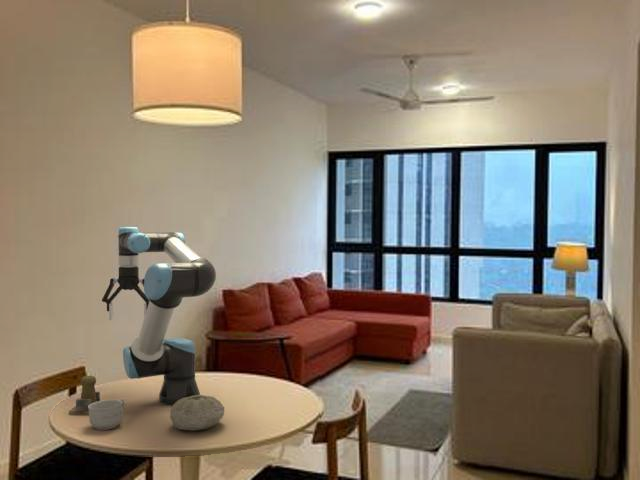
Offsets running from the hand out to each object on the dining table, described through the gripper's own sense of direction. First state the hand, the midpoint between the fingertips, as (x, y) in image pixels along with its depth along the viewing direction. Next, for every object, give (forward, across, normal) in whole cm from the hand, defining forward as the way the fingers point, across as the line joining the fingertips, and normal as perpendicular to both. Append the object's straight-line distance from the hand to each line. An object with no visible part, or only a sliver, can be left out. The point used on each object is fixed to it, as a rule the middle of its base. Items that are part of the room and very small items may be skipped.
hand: (128, 319), depth 246 cm
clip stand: (+29, +8, +23) cm, 38 cm away
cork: (+28, +8, +23) cm, 37 cm away
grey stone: (+29, -34, +40) cm, 60 cm away
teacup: (+29, -5, +40) cm, 49 cm away
